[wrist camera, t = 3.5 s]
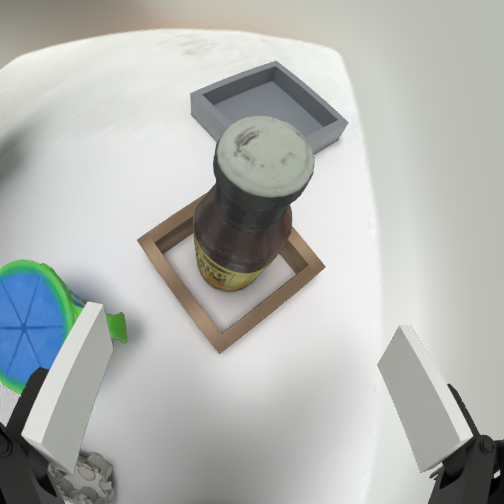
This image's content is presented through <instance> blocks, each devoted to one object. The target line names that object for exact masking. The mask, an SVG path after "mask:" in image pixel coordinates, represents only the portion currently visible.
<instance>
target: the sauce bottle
mask: <svg viewBox="0 0 504 504" xmlns="http://www.w3.org/2000/svg"><path fill="white" fill-rule="evenodd" d="M213 167H214V174H215V178H216V184H215V185H214V186H213V187H212V188H211V190H210V191H209V192H208V193H207V195H206V196H205V197H204V198H203V199H202V200H201V201H200V202H199V204H198V205H197V207H196V209H195V212H194V216H193V231H194V242H195V243H194V244H195V250H196V257H197V264H198V268H199V271H200V273H201V275H202V276H203V278H204V279H205V280H206V281H207V282H208V283H209V284H210V285H212V286H213V287H215V288H217V289H220V290H224V291H235V290H239V289H242V288H244V287H246V286H248V285H249V284H251V283H252V282H253V281H254V280H255V279H256V278H257V277H258V276H259V275H260V273H261V272H262V271H263V270H264V269H265V268H266V267H267V266H268V265H269V264H270V263H271V262H272V261H273V260H274V259H275V257H276V256H277V255H278V253H279V252H280V251H281V250H282V249H283V247H284V245H285V244H286V242H287V240H288V238H289V235H290V234H291V228H292V211H291V207H290V204H291V203H292V202H293V201H295V200H296V199H297V198H298V197H299V196H300V195H301V194H302V192H303V191H304V189H305V188H306V186H307V184H308V182H309V181H310V179H311V177H312V175H313V169H314V155H313V151H312V148H311V147H310V145H309V143H308V142H307V141H306V139H305V138H304V136H303V134H302V133H301V132H300V131H299V130H297V129H296V128H295V127H293V126H292V125H290V124H289V123H287V122H284V121H280V120H278V119H276V118H273V117H268V116H253V117H246V118H243V119H241V120H238V121H236V122H234V123H233V124H231V125H230V126H229V127H227V129H226V130H225V131H224V132H223V134H222V135H221V137H220V138H219V140H218V142H217V144H216V149H215V155H214V161H213Z"/></svg>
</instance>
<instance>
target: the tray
mask: <svg viewBox="0 0 504 504" xmlns="http://www.w3.org/2000/svg"><path fill="white" fill-rule="evenodd" d="M190 94H191V115H192V116H193V117H194V118H195V119H196V120H197V121H198V122H199V123H200V125H201V126H202V127H203V128H204V129H205V130H206V131H207V132H208V133H209V134H210V135H211V136H212V137H213V138H214V140H215V141H216V142H218V140H219V138H220V137H221V135H222V134H223V132H224V131H225V130H226V129H227V127H229V126H230V125H231V124H233V123H234V122H236V121H238V120H241V119H243V118H246V117H253V116H268V117H273V118H276V119H278V120H280V121H284V122H287V123H289V124H290V125H292V126H293V127H295V128H296V129H297V130H299V131H300V132H301V133H302V134H303V136H304V138H305V139H306V141H307V142H308V143H309V145H310V147H311V148H312V151H313V155H314V154H316V153H318V152H319V151H321V150H323V149H324V148H326V147H328V146H329V145H331V144H333V143H334V142H336V141H338V139H339V137H340V136H341V134H342V132H343V131H344V129H345V128H346V126H347V124H348V122H347V121H346V120H345V119H344V118H343V117H342V116H341V115H340V114H339V113H338V112H337V111H336V110H335V109H334V108H332V107H331V106H330V105H329V104H328V103H327V102H326V101H325V100H324V99H322V98H321V97H320V96H319V95H318V94H317V93H316V92H314V91H313V90H312V89H311V88H310V87H308V86H307V85H306V84H305V83H304V82H302V81H301V80H300V79H299V78H298V77H296V76H295V75H294V74H293V73H291V72H290V71H289V70H287V69H286V68H285V67H284V66H282V65H281V64H280V63H278V62H277V61H274V62H271V63H268V64H265V65H262V66H259V67H256V68H253V69H250V70H247V71H245V72H242V73H239V74H236V75H234V76H231V77H228V78H226V79H223V80H221V81H218V82H216V83H213V84H211V85H209V86H206V87H204V88H202V89H199V90H197V91H195V92H193V93H190Z"/></svg>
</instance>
